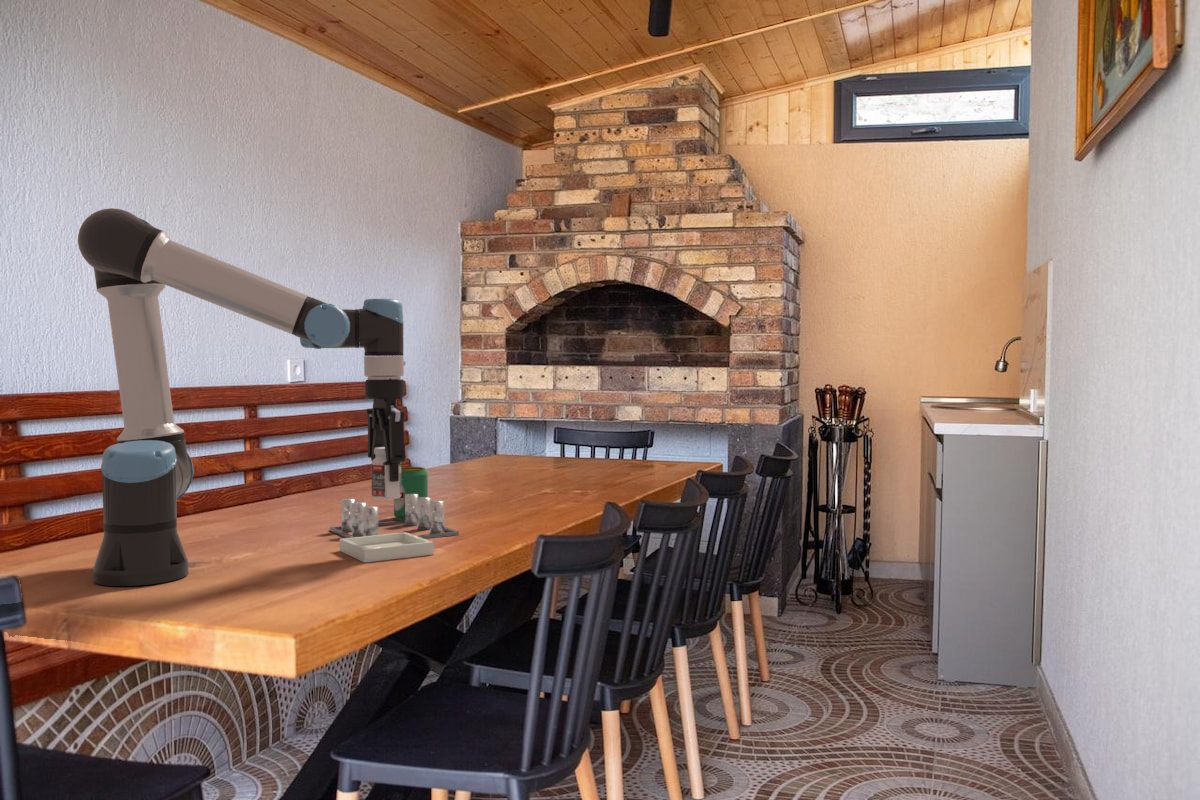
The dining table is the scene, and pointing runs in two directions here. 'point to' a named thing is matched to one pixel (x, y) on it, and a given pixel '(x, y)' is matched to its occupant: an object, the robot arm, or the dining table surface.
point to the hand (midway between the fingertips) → (386, 496)
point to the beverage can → (410, 488)
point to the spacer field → (416, 513)
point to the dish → (386, 547)
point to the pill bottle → (380, 474)
